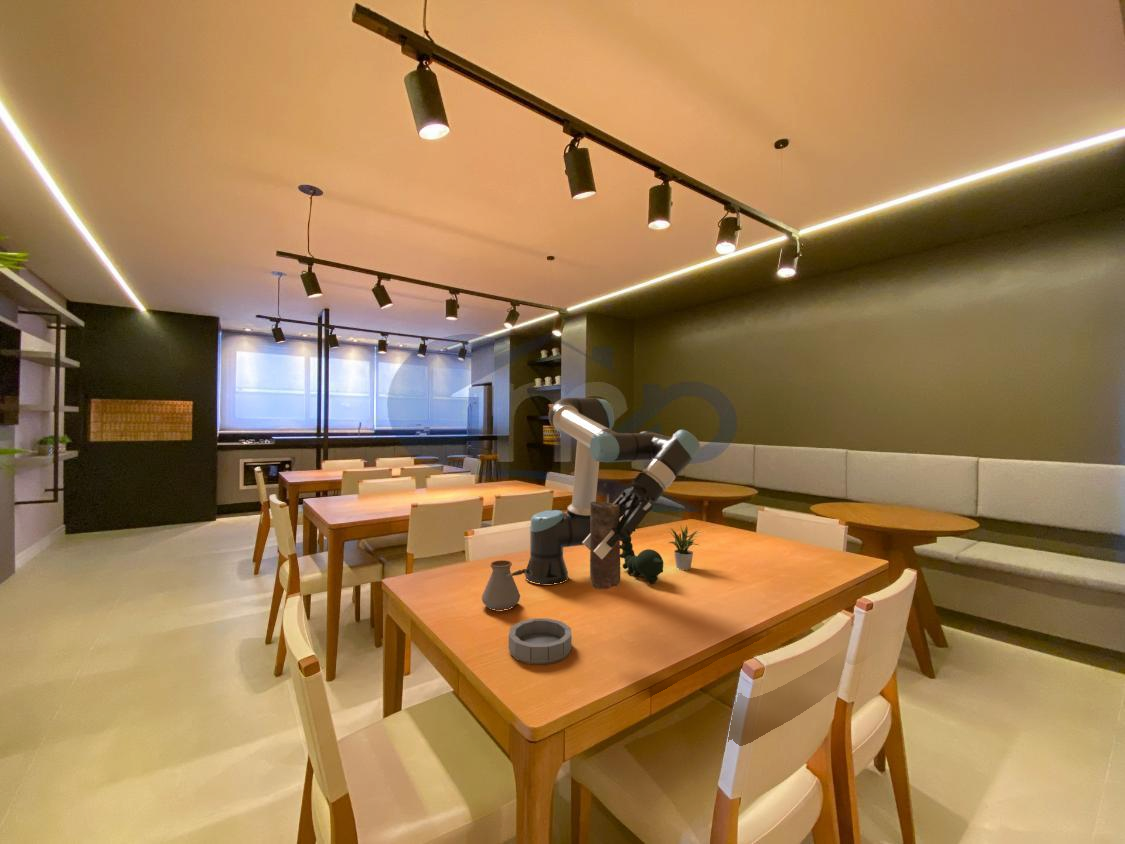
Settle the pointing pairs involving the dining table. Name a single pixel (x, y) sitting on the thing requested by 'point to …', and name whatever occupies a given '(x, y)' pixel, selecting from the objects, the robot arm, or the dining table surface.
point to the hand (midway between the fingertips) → (591, 550)
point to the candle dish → (540, 641)
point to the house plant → (683, 549)
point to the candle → (601, 524)
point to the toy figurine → (641, 561)
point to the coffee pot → (502, 586)
